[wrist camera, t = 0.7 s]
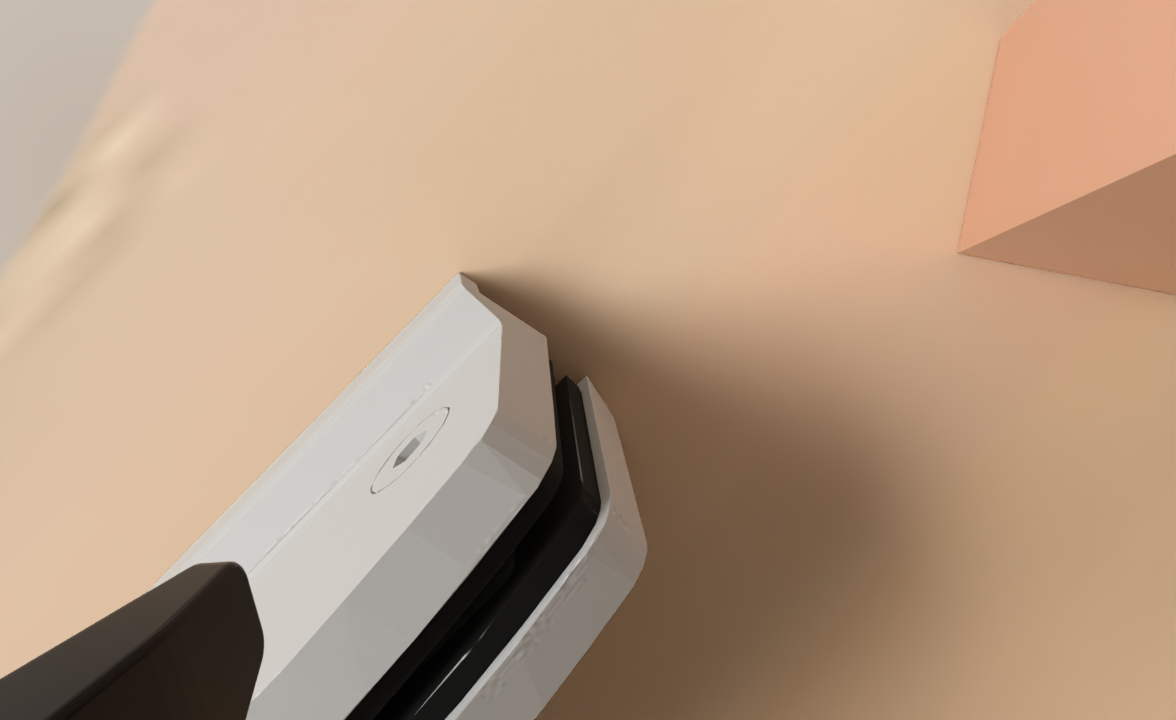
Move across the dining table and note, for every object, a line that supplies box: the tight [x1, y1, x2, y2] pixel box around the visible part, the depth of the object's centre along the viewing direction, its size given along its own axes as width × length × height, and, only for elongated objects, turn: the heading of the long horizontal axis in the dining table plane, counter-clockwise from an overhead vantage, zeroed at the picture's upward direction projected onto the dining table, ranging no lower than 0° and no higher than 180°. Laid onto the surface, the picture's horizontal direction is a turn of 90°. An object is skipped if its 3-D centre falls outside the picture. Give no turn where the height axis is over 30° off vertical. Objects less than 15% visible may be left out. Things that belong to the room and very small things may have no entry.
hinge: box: [146, 272, 648, 720], centre depth 19 cm, size 17×5×10 cm, turn 136°
